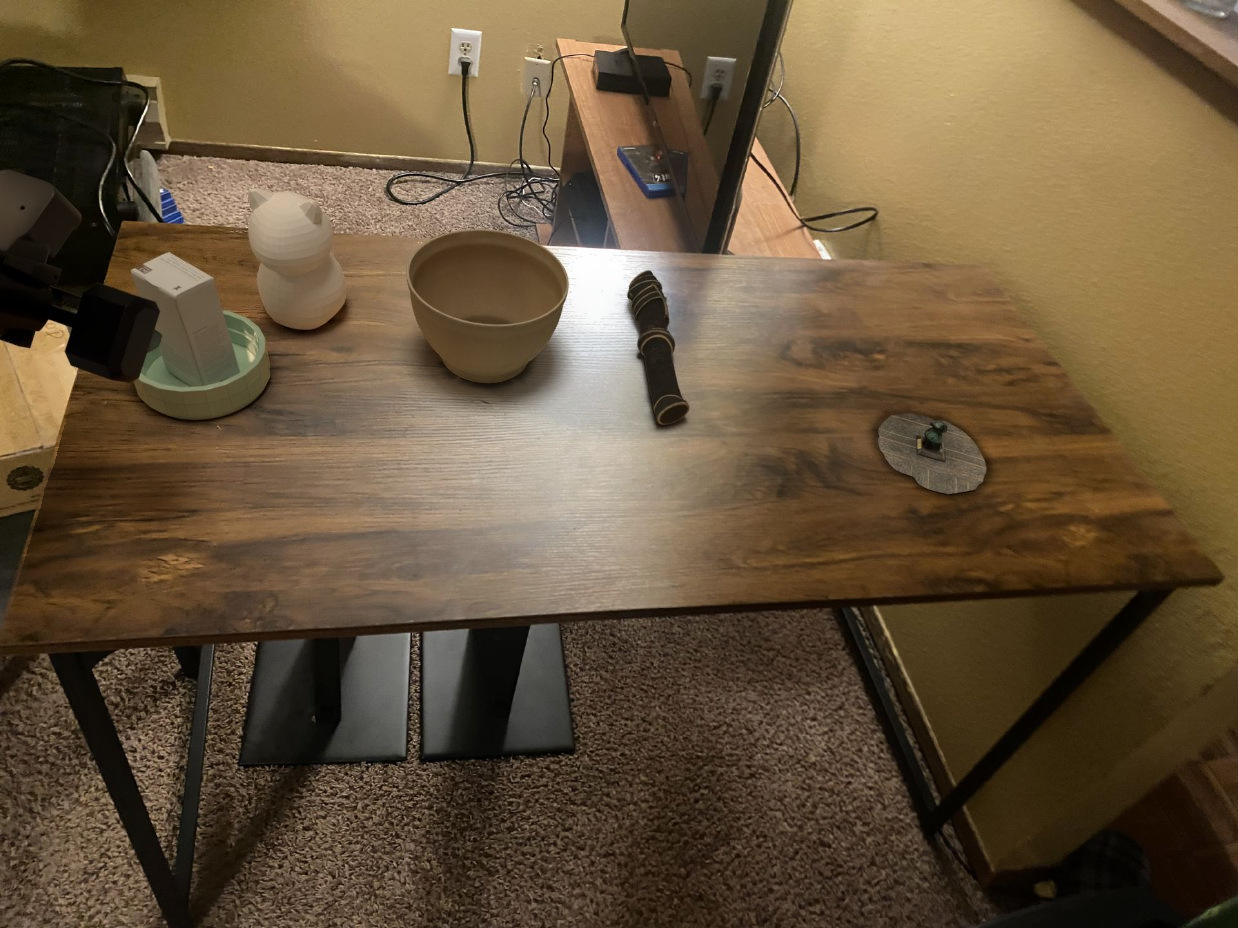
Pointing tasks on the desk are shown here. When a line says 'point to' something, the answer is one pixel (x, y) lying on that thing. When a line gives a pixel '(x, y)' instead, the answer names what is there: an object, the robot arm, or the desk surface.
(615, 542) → the desk surface
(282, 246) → the cat figurine
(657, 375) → the banded dark tube
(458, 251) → the planter bowl
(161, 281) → the cosmetic box
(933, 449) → the sculpture
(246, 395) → the shallow bowl
